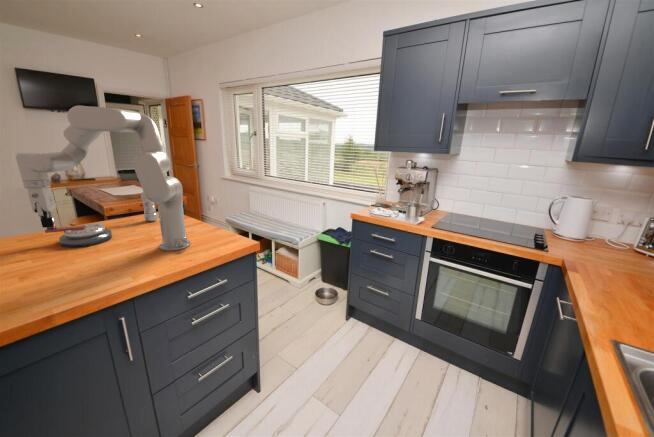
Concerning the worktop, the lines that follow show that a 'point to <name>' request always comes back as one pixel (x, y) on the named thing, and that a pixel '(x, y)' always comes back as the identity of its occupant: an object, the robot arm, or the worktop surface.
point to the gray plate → (85, 240)
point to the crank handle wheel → (78, 230)
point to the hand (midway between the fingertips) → (48, 226)
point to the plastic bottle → (149, 208)
